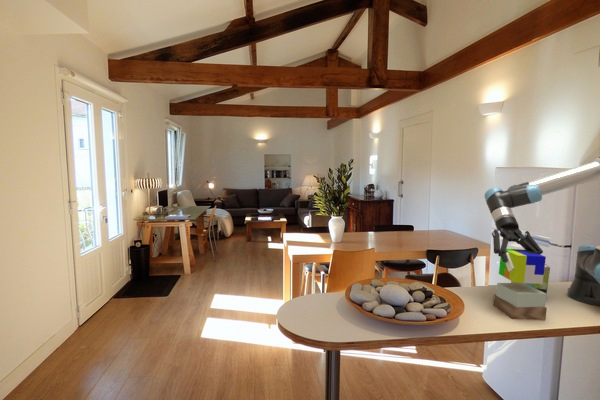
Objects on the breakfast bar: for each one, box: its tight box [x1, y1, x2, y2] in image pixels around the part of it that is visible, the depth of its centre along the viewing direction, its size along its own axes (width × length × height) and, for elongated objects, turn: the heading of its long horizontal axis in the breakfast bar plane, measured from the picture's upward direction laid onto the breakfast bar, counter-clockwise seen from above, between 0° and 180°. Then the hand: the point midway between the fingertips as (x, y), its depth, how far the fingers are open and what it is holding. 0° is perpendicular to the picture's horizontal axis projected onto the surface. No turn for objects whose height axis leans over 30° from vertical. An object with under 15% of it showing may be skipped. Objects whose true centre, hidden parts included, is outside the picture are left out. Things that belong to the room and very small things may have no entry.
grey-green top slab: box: [495, 282, 547, 307], centre depth 127 cm, size 11×11×5 cm
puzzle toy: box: [498, 248, 546, 284], centre depth 127 cm, size 10×10×10 cm
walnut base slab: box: [492, 293, 548, 321], centre depth 128 cm, size 12×12×5 cm
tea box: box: [510, 263, 551, 297], centre depth 149 cm, size 15×10×15 cm
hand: (526, 270), depth 124 cm, fingers closed on puzzle toy, 10 cm apart
